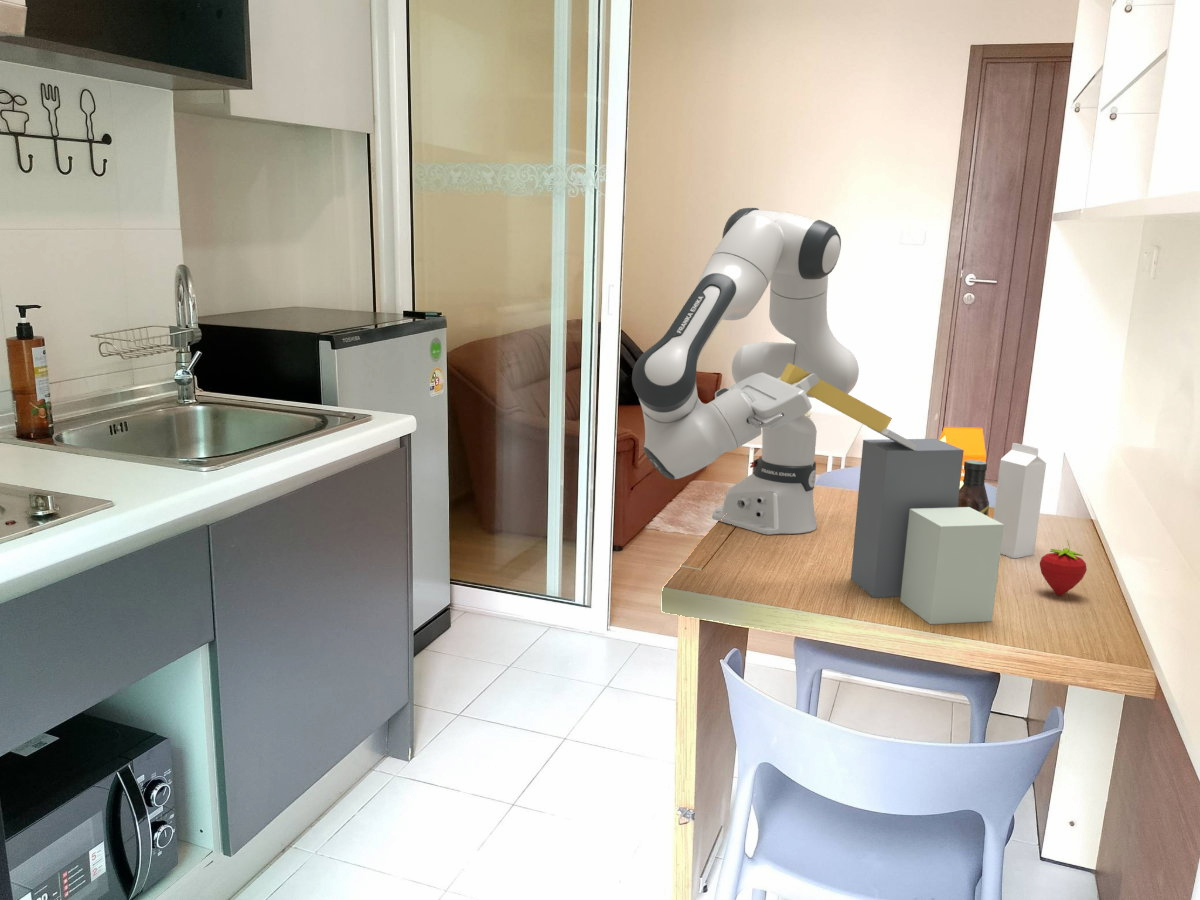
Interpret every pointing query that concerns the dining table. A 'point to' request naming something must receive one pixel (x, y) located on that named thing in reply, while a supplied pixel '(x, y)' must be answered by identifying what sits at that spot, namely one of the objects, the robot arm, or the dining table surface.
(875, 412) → the plate
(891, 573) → the tall stand
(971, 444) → the orange juice
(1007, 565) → the dining table surface
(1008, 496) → the milk
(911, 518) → the sage green upright block
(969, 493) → the sauce bottle
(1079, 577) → the strawberry
